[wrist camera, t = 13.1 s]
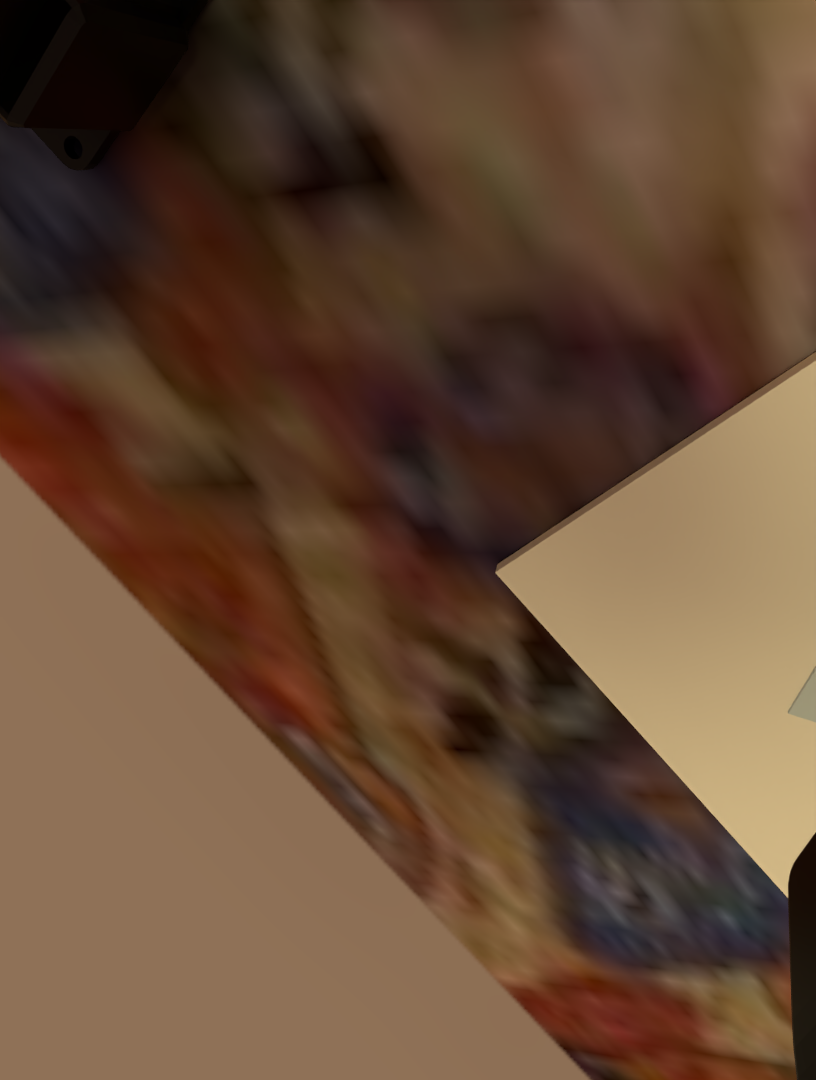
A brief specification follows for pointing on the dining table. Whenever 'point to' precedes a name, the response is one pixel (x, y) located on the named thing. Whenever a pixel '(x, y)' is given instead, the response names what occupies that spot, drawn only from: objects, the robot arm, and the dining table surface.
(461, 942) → the dining table surface
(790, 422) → the cream flat board
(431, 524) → the dining table surface
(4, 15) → the robot arm
